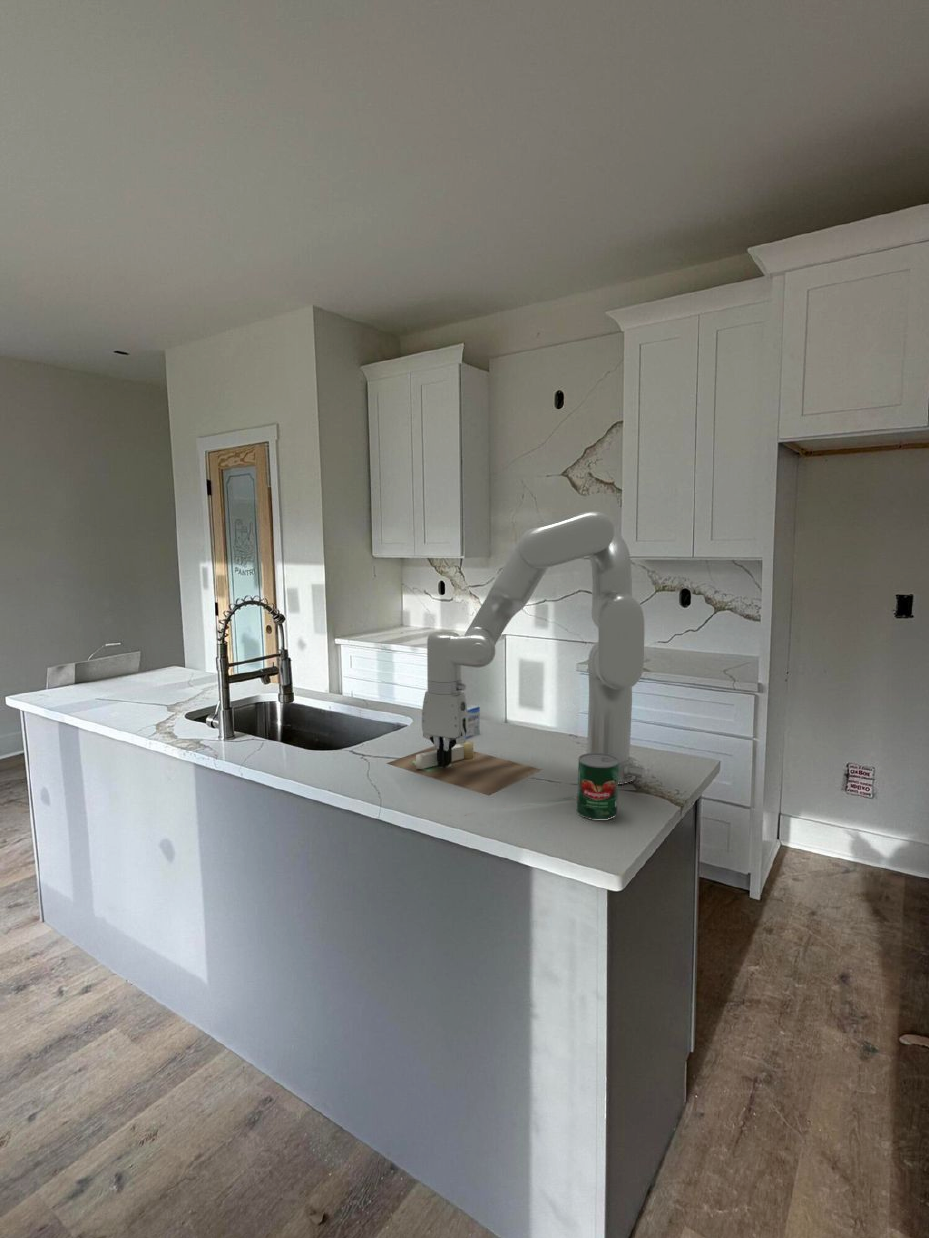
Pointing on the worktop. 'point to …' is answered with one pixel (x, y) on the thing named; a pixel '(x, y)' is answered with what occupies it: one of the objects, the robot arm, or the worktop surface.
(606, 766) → the canned tomato
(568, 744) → the worktop surface
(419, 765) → the pointer
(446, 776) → the dial board
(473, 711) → the medicine box
